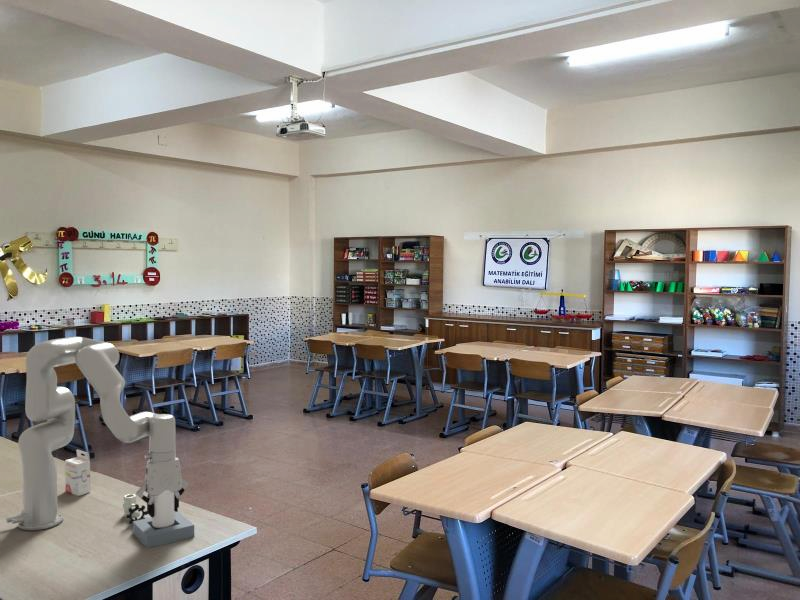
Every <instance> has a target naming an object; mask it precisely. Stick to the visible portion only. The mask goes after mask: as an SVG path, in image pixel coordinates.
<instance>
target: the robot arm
mask: <svg viewBox="0 0 800 600" xmlns="http://www.w3.org/2000/svg"><path fill="white" fill-rule="evenodd" d="M25 357H26V358H25V369H26V370H25V371H26V386H25V402H24V403H25V409H24V410H25V414H26V415H25V416H26V417H27V418H28V420H30V421H32V422H42V421H45V422H42V423H39V424H35V425H33V426H30V427H28V428H27V429H25V430H24V431H23V432H22V433H21V434H20V435H19V438H18V442H17V443H18V444H17V445H18V450H19V453H20V454H19V455H20V457H21V466H22V495H23V496H22V500H23V502H22V503H23V507H22V508H23V509H21V510H20V512H19V513H17V514H15V515H13V514H12V515H8V516H6V517H5V520H6V524H9V523H12V524H17V528H19V529H20V530H21V531H22V530H23V531H40V530H45V529H49V528H53V527H55V526H58V525H59V524H61V523H62V522H63V521H64V515H63V514H62V513H59V511H58V469H57V462H56V460H55V458H54V456H53V454H52V452H54V451H56V450H58V449H60V448H64V447H65V446H67V445H68V444H70V443H71V441H72V440H73V438H74V434H75V421H76V420H75V419H76V418H75V417H76V399H75V396H74V394H73V393H72V391H71V390H70V389H69V388H67V387H65V386H58V376H57V372H56V370H55V368H56V367H61V366H67V365H72V364H76V366H77V367H78V369H79V370H80V372H81V373H82V374H83V376H84V377H85V379H86V380H87V381H88V382H89V384H90V385H91V386H92V387H93V390H94V391H95V392H96V393H97V395H98V396H99V400H100V401H99V405H100V406H99V407H100V412H101V413H100V414H101V416H102V420H103V421H104V423H105V425H106V426H107V428H108V429H109V431H110V432H111V433H112V435H114V437H115V438H116V439H117V440H119V441H120V442H121V443H124V444H129V443H133V442H136V441H138V440H141V439H143V438H147V437H149V439H148V440H149V445H148V446H149V449H148V453H147V454H145V455H144V459H145V460H148V461H147V463H146V467H145V474H144V483H143V485H141V487H140V488H139V489H138V490H137V491H136V492H135V495H136V497H138V498H140V499H141V500H142V501H143V502H145V503H146V511H147V513H148V514H147V515H149V516H150V517H154V504H153V500H154V498H155V496H158V495H160V494H162V493H163V492H164V491H166V490H168V491H170V492H174V512H177V511H178V512H179V509H178V508H180V498H181V496H182V495H183V494H184V492H185V490H186V489H187V488H188V486H189V485H190V483H189V482H188V481H187V480H185V479H184V478H182V470H181V469H182V468H181V465H180V459H179V458H178V457H176V418H175V416H174V415H172V414H168V413H167V414H166V413H162V414H161V413H155V412H151V411H140V412H138V413H135V414H133V415H129V414H128V413H127V412H126V410H125V409H124V406H123V405H122V403H121V392H122V391H123V389H124V388H125V385H126V380H125V378H124V377H123V376H122V374H121V373H120V372H119V370H118V369H117V368H116V365H117V364H118V363H119V361H120V351H119V350H118V349H117V347H116V346H115V345H113V343H110V342H107V341H102V340H97V339H92V338H88V337H83V336H70V337H69V336H68V337H62V338H55V339H50V340H49V339H48V340H46V341H45V340H44V341H42V342H39V343H36V344H35V345H33V346H32V347H31V348H30V349H29V350H28V352H27V354H26V356H25ZM144 493H147V495H145V494H144Z"/></svg>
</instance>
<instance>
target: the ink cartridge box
mask: <svg viewBox="0 0 800 600" xmlns="http://www.w3.org/2000/svg"><path fill="white" fill-rule="evenodd" d="M75 451H76V457H72V458H70V459H69V458H68V459H65V460H64V465H65V466H64V468H65V469H64V470H65V471H64V472H65V473H64V474H65V478H64V480H65V488H64V489H65V492H66V493H69V494H71V495H74V496H77V497H79V496H83V495H86V494H89V493H91V460H90V453H89V452H87V451H84V450H80V449H76V450H75ZM82 454H83V455H82Z"/></svg>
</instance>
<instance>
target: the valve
mask: <svg viewBox="0 0 800 600" xmlns="http://www.w3.org/2000/svg"><path fill="white" fill-rule="evenodd" d="M123 501H124V502H123V503H122V507H123V516H124V517H125V518H126V519H129V520H128V521H127V522H128V524H129V525H133V521H137V520H141V519H146V518H145V516H147V515H149V514H148V513H147V510H145V509H146V506H145V505H143V504H142V505H141V507H140V505H139V504H138V503H137V495H136V493H128V494H125V495H124V496H123ZM144 510H145V511H144ZM140 512H142V513H140ZM140 514H141V516H140ZM133 517H134V518H133Z"/></svg>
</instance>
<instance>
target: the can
mask: <svg viewBox="0 0 800 600" xmlns="http://www.w3.org/2000/svg"><path fill="white" fill-rule="evenodd" d="M153 504H154V517H152V525H153V526H154V527H155V528H166V527H170V526H172V525H173V524H174V512H175V511H174V492H170V491H168V490H166V491H164V492H163V493H162V494H160V495H158V496H155V498H154V500H153Z"/></svg>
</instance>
